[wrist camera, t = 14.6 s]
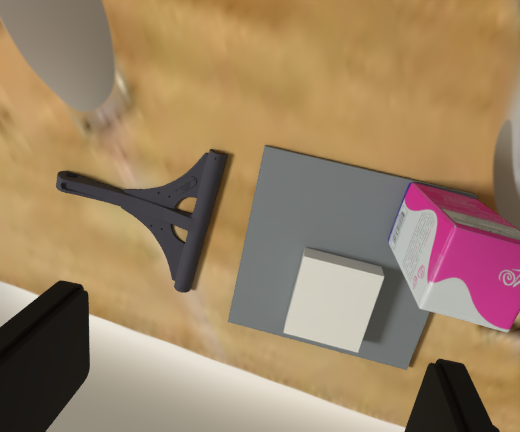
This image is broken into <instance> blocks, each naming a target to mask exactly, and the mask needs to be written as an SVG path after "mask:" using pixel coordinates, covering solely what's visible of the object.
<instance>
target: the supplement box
mask: <svg viewBox="0 0 520 432" xmlns="http://www.w3.org/2000/svg"><path fill="white" fill-rule="evenodd" d="M387 241H388V243H389V245H390V247H391V249H392V251H393V253H394V255H395V258H396V260H397V262H398V264H399V266H400V268H401V270H402V272H403V274H404V277H405V279H406V281H407V283H408V285H409V287H410V290H411V292H412V294H413V296H414V298H415V300H416V302H417V305H418V307H419V308H420V309H422V310H427V311H430V312H434V313H438V314H442V315H446V316H449V317H453V318H457V319H461V320H465V321H468V322H471V323H475V324H479V325H482V326H486V327H489V328H493V329H496V330H500V331H503V332H509V330H510V328H511V326H512V325H513V323H514V321H515V319H516V317H517V315H518V313H519V311H520V230H519V229H517V228H516V227H515V226H513V225H512V224H510V223H509V222H508V221H506V220H504V219H503V218H502V217H500V216H499V215H498V214H496V213H495V212H494V211H492V210H491V209H489V208H488V207H487V206H485V205H484V204H483V203H481V202H480V201H478V200H477V199H475V198H472V197H468V196H464V195H460V194H457V193H453V192H450V191H446V190H442V189H439V188H435V187H431V186H427V185H424V184H420V183H416V182H410V183H409V185H408V187H407V190H406V192H405V195H404V197H403V200H402V203H401V205H400V208H399V210H398V213H397V216H396V218H395V221H394V224H393V227H392V229H391V232H390V235H389V238H388V240H387Z"/></svg>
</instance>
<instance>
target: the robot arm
mask: <svg viewBox="0 0 520 432" xmlns="http://www.w3.org/2000/svg"><path fill="white" fill-rule="evenodd" d="M89 356H90V354H89V302H88V292H87V291H84V288H83V286H82V285H81V284H77V283H72V282H67V281H58V282H57V283H55V284H54V285H53V286H52V287H50V288H49V289H48V290H47V291H45V292H44V293H43V294H42V295H40V296H39V297H38V298H37V299H35V300H34V301H33V302H32V303H30V304H29V305H28V306H27V307H25V308H24V309H23V310H21V311H20V312H19V313H18V314H16V315H15V316H14V317H13V318H11V319H10V320H9V321H8V322H6V323H5V324H4V325H3V326H1V327H0V432H46V430H47V429H48V428H49V426H50V425H51V424H52V423H53V421H54V420H55V419H56V417H57V416H58V415H59V413H60V412H61V411H62V410H63V408H64V407H65V406H66V404H67V403H68V402H69V401H70V399H71V398H72V397H73V395H74V394H75V393H76V391H77V390H78V389H79V388H80V386H81V385H82V384H83V382H84V381H85V379H86V378H87V376H88V373H89V368H90V357H89ZM405 432H500V431H499V429H498V428H496V427H495V426H494V425H493V424H492V422H491V420H490V418H489V416H488V414H487V412H486V410H485V407H484V405H483V403H482V401H481V399H480V397H479V395H478V393H477V390H476V388H475V386H474V384H473V382H472V380H471V378H470V376H469V373H468V371H467V369H466V367H465V366H464V364H462V363H458V362H453V361H448V360H444V359H438V360H437V361H436V363H430V364H429V365H428V367H427V370H426V373H425V375H424V378H423V381H422V384H421V387H420V390H419V392H418V395H417V398H416V401H415V404H414V406H413V409H412V412H411V415H410V418H409V420H408V423H407V426H406V429H405Z"/></svg>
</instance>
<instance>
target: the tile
mask: <svg viewBox="0 0 520 432" xmlns="http://www.w3.org/2000/svg"><path fill="white" fill-rule="evenodd" d="M383 279H384V274H383V270H382V267H381V266H377V265H373V264H369V263H365V262H361V261H357V260H353V259H349V258H345V257H341V256H337V255H333V254H329V253H325V252H321V251H317V250H313V249H309V248H305V249H304V253H303V256H302V260H301V264H300V268H299V271H298V275H297V279H296V283H295V286H294V290H293V294H292V298H291V301H290V305H289V309H288V313H287V316H286V320H285V326H284V332H283V333H286V334H290V335H293V336H297V337H301V338H305V339H308V340H312V341H316V342H319V343H323V344H327V345H331V346H334V347H338V348H342V349H345V350H349V351H353V352H357V353H358V351H359V348H360V345H361V342H362V339H363V337H364V334H365V331H366V328H367V325H368V322H369V319H370V316H371V314H372V311H373V308H374V305H375V302H376V299H377V296H378V294H379V291H380V288H381V285H382V282H383Z"/></svg>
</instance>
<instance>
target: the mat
mask: <svg viewBox="0 0 520 432" xmlns="http://www.w3.org/2000/svg"><path fill="white" fill-rule="evenodd" d="M410 182H416V183H420V184H424V185H427V186H431V187H435V188H439V189H442V190H446V191H450V192H453V193H457V194H460V195H464V196H468V197H472V198H475V199H476V198H477V195H475V194H473V193H469V192H464V191H460V190H456V189H451V188H447V187H443V186H439V185H434V184H430V183H426V182H421V181H417V180H413V179H408V178H404V177H400V176H396V175H391V174H387V173H383V172H378V171H374V170H370V169H366V168H361V167H357V166H353V165H348V164H344V163H340V162H335V161H331V160H327V159H323V158H318V157H314V156H310V155H305V154H301V153H297V152H292V151H288V150H284V149H280V148H275V147H271V146H267V145H265V147H264V152H263V156H262V161H261V166H260V171H259V175H258V180H257V185H256V190H255V195H254V199H253V204H252V209H251V214H250V218H249V223H248V228H247V233H246V238H245V242H244V247H243V252H242V257H241V262H240V266H239V271H238V276H237V281H236V285H235V290H234V295H233V300H232V305H231V309H230V314H229V319H228V322H231V323H234V324H238V325H242V326H246V327H249V328H253V329H257V330H260V331H264V332H268V333H272V334H275V335H279V336H283V337H286V338H290V339H294V340H298V341H301V342H305V343H309V344H312V345H316V346H320V347H323V348H327V349H331V350H335V351H338V352H342V353H346V354H349V355H353V356H357V357H361V358H364V359H368V360H372V361H375V362H379V363H383V364H387V365H390V366H394V367H398V368H401V369H405V370H407V368H408V365H409V363H410V360H411V358H412V355H413V353H414V350H415V348H416V345H417V343H418V340H419V338H420V336H421V333H422V331H423V328H424V326H425V323H426V321H427V318H428V316H429V313H430V311H427V310H422V309H420V308H419V307H418V305H417V302H416V300H415V298H414V296H413V294H412V292H411V290H410V287H409V285H408V283H407V281H406V279H405V277H404V274H403V272H402V270H401V268H400V266H399V264H398V262H397V260H396V258H395V255H394V253H393V251H392V249H391V247H390V245H389V243H388V241H387V240H388V238H389V235H390V232H391V229H392V227H393V224H394V221H395V218H396V216H397V213H398V210H399V208H400V205H401V203H402V200H403V197H404V195H405V192H406V190H407V187H408V185H409V183H410ZM305 248H309V249H313V250H317V251H321V252H325V253H329V254H333V255H337V256H341V257H345V258H349V259H353V260H357V261H361V262H365V263H369V264H373V265H377V266H381V267H382V270H383V274H384V279H383V282H382V285H381V288H380V291H379V294H378V296H377V299H376V302H375V305H374V308H373V311H372V314H371V316H370V319H369V322H368V325H367V328H366V331H365V334H364V337H363V339H362V342H361V345H360V348H359V351H358V353H357V352H353V351H349V350H345V349H342V348H338V347H334V346H331V345H327V344H323V343H319V342H316V341H312V340H308V339H305V338H301V337H297V336H293V335H290V334H286V333H283V332H284V326H285V320H286V316H287V313H288V309H289V305H290V301H291V298H292V294H293V290H294V286H295V283H296V279H297V275H298V271H299V268H300V264H301V260H302V256H303V253H304V249H305Z"/></svg>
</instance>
